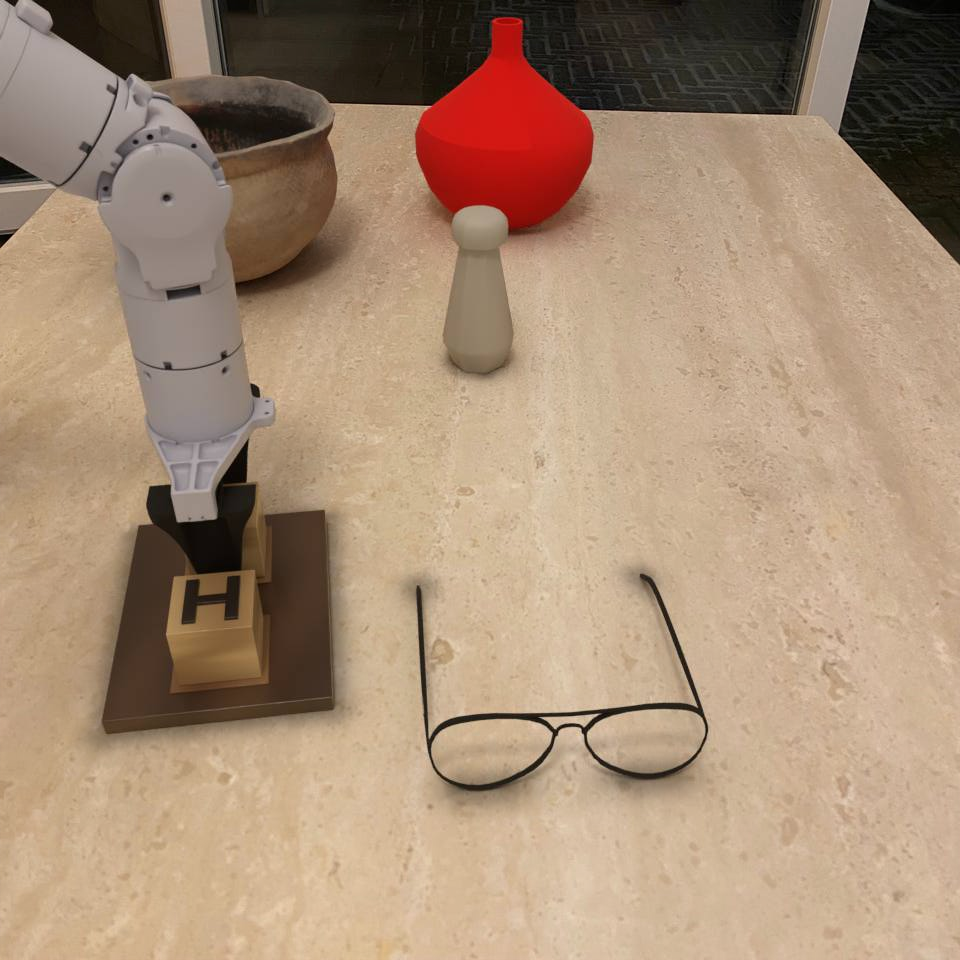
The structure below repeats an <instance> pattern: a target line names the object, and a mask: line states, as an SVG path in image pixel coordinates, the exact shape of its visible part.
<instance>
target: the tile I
mask: <svg viewBox="0 0 960 960" xmlns="http://www.w3.org/2000/svg"><path fill="white" fill-rule="evenodd" d="M251 484H256V497H255V505H254V508H253V512H252V515H251V517H250V518H249V520H248V522H247V524H246V526H245V529H244V533H243V538H242V567H241V571H243V570H255V573H256V577H264V576H265V565H266V535H267V529H266V523H265V516H264V515H265V511H264V505H263V499H262V492H261V491H262V490H261V486H260V482H259V481H250V482H249V481H247V483H235V484H223V485H224V487H226V486H239V485H251ZM185 557H186V562H187V566H188V571H189V575H197V573H196V571H195V570H194V568H193V566H192V565H191V563H190V561H189V559H188V558H187V556H186V555H185Z"/></svg>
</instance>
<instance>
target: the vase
mask: <svg viewBox="0 0 960 960" xmlns="http://www.w3.org/2000/svg"><path fill="white" fill-rule="evenodd" d="M523 30H524V21H523V19H521V18H517V17H507V16H506V17H497V18H494V19H492V20H491V49H490V54H489V55H488V57H487V58H486V59H485V61H483V64H482V65H481V66H480V67H478V68H477V69H476V70H475V71H474V72H473V73H471V74H470V75H469V76H467V78H465V79H464V80H463V81H462V82H461V83H460V84H458V85H457V86H456V87H455V88H453V89H452V90H451V91H449V92H448V93H447V94H445V95H444V96H442V97H441V98H440V99H439V100H437V101H436V102H435V103H434V104H432V105H431V106H430V107H428V108H426V110H425V111H423V112H422V113H421V116H420V118H419V120H418V123H417V126H416V130H415V132H414V142H415V145H414V146H415V156H416V159H417V162H418V165H419V167H420V169H421V170H420V171H421V172H422V174H423V176H424V179H425V181H426V183H427V186H428V188H429V190H430V192H431V193H432V194H433V195H434V196H435V197H436V199H437V200H438V201H439V202H440V203H441V205H442V206H443V207H444V208H445V209H446V210H447V211H448V212H450V213H451V214H452V215H455V214H456V213H457V212H458V211H460V210H461V209H463V208H465V207H470V206H481V205H484V206H490V207H494V208H496V209H499V210H500V211H501V212H502V213H503V214H504V215H505V216H506V217H507V220H508V231H513V230H516V231H517V230H522V229H528V228H532V227H534V226H537V225H540V224H542V223H543V222H545V221H547V220H548V219H550V218H551V217H553V216H554V215H556V214H558V213H559V212H560V211H561V210H562V209H563V208H564V207H565V205H566V204H568V203H569V201H570V200H571V199H572V198H573V197H574V196H575V194H576V193H577V192H578V191H579V189H580V187H581V185H582V183H583V180H584V179H585V177H586V175H587V172H588V170H589V169H590V167H591V164H592V161H593V151H594V142H595V141H594V140H595V133H594V130H593V126H592V123H591V120H590V118H589V117H588V116H587V115H586V113H585V112H584V111H583V110H582V109H580V108H579V107H578V106H576V105H575V104H574V103H573V102H572V101H571V100H569V99H568V98H567V97H566V96H564V95H563V94H562V93H561V92H559V90H557V89H556V87H554V86H553V85H552V84H551V83H549V81H548V80H546V79H545V78H544V77H543V76H542V75H541V74H540V73H538V72H537V71H536V70H535V69H534V68H533V67H532V66H531V64H530V63H529V62H528V60H527V59H526V57H525V56H524V50H523V35H524V33H523Z"/></svg>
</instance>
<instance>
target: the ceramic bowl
mask: <svg viewBox="0 0 960 960" xmlns="http://www.w3.org/2000/svg"><path fill="white" fill-rule="evenodd" d="M144 81H145V82H146V83H148V84H149V85H150V87H151V89H152V90H153V91H154V92H159V93H162V94H165V95H167V96H169V97H170V98H171V99H172V100H173V102H174V103H175V105H176V106H177V107H178V108H179V109H181V110H182V111H183V112H184V113H185V114H186V115H188V116H189V117H190V119H191V120H192V121H193V122H194V123H195V124H196V126H197V127H198V129H199V130H200V132H201V133H202V135H203V137H204V138H205V140H206V142H207V143H208V145H209V146H210V148H211V150H212V151H213V153H214V155H215V156H216V158H217V159H218V162H219V164H220V166H221V167H222V169H223V172H224V175H225V179H226V185H230V186H231V187H232V188H233V204H232V209H231V213H230V216H229V219H228V221H227V223H226V225H225V227H224V228H225V233H226V239H225V246H226V251H227V252H228V254H229V255H230V258H231V262H232V269H233V275H234V282H235V284H236V283H241V282H247V281H251V280H256V279H259V278H261V277H265V276H268V275H270V274H272V273H273V272H276V271H278V270H280V269H281V268H283V267H284V266H287V264H288V263H290V262H291V261H292V260H294V259H295V258H296V257H297V256H299V254H300V253H301V252H302V251H303V249H304V248H305V247H306V246H308V244H309V243H311V241H312V240H313V239H314V238H315V237H316V236H317V235H318V234H319V233H320V231H321V230H322V229H323V228H324V226H325V225H326V223H327V222H328V221H327V220H328V218H329V216H330V214H331V211H332V210H333V207H334V204H335V202H336V197H337V192H338V191H337V190H338V178H339V176H338V171H337V167H336V161H335V155H334V152H333V149H332V146H331V143H330V141H329V135H330V133H331V131H332V129H333V127H334V121H335V116H336V112H335V109H334V107H332V105H331V103H330V102H329V101H328V99H326V97H325V95H323V94H321V93H320V92H318V91H316V90H313V89H310V88H306V87H303V86H300V85H298V84H296V83H293V82H292V81H289V80H282V79H273V78H269V77H264V76H261V75H260V76H257V75H256V76H255V75H253V76H251V75H250V76H228V75H219V74H212V73H210V74H201V75H199V74H198V75H192V76H181V77H179V76H178V77H173V78H168V79H162V80H156V81H150V80H144ZM97 203H98V205H99V204H100V203H99V200H97Z"/></svg>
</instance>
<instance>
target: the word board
mask: <svg viewBox="0 0 960 960" xmlns="http://www.w3.org/2000/svg"><path fill="white" fill-rule="evenodd" d="M264 516H265V523H266V529H267V535H266V565H265V576H264V577H256V579H257V585H258V590H259V596H260V602H261V608H262V613H263V619H264V622H263V652H262V677H258V678H248V679H238V680H229V681H219V682H209V683H199V684H190V685H179V682H178V679H177V675H176V671H175V667H174V663H173V660H172V656H171V652H170V648H169V644H168V641H167V637H166V631H167V623H168V616H169V609H170V602H171V594H172V587H173V580H174V577H177V576H188V575H189V571H188V566H187V562H186V557H185V553H184V551H183V550H182V548H181V547H180V546H179V545H178V543H177V542H176V541H175V540H174V539H173V538H172V537H171V536H170V535H169V534H167V533H166V532H165V531H163V530H162V529H161V528H159V527H157V526H156V525H154V524H153V523H149V524H139V525H138V526H137V531H136V536H135V542H134V546H133V553H132V556H131V557H132V558H131V562H130V563H131V564H130V568H129V574H128V579H127V584H126V588H125V589H126V590H125V596H124V599H123V606H122V610H121V616H120V621H119V627H118V632H117V638H116V642H115V649H114V654H113V659H112V664H111V670H110V675H109V681H108V685H107V690H106V695H105V701H104V707H103V712H102V717H101V725H102V727H103V730H104V733H105V734H113V733H123V732H132V731H141V730H151V729H160V728H169V727H170V728H171V727H178V726H187V725H188V726H189V725H197V724H205V723H206V724H207V723H216V722H225V721H234V720H235V721H236V720H244V719H253V718H262V717H271V716H280V715H282V716H283V715H291V714H300V713H308V712H318V711H319V712H320V711H327V710H333V709H334V683H333V681H334V680H333V679H334V678H333V659H332V658H333V655H332V654H333V653H332V631H331V629H332V628H331V611H330V610H331V608H330V607H331V604H330V583H329V582H330V581H329V580H330V577H329V560H328V559H329V558H328V557H329V555H328V532H327V531H328V530H327V529H328V527H327V514H326V510H325V509H317V510H315V509H314V510H304V511H291V512H280V513H269V514H264Z"/></svg>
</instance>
